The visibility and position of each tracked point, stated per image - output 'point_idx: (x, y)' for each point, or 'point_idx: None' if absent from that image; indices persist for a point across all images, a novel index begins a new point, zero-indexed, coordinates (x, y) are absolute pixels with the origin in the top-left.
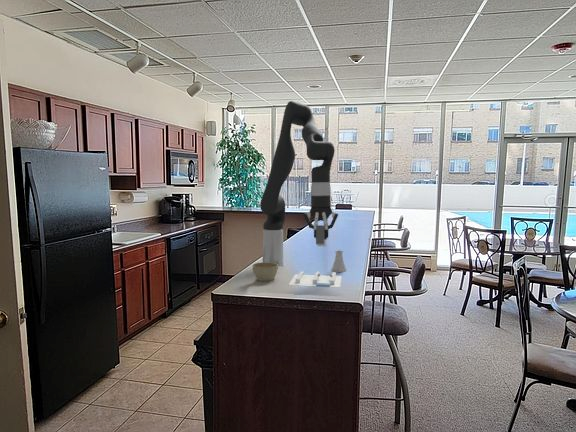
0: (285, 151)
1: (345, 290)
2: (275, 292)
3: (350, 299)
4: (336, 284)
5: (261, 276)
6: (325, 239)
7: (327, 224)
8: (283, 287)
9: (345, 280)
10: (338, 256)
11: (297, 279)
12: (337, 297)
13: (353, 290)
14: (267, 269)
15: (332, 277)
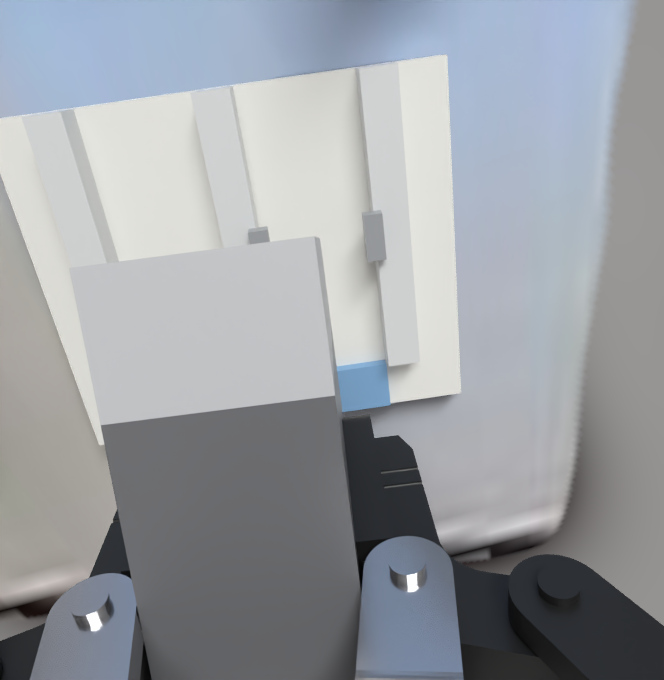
0: None
1: (488, 353)
2: (67, 513)
3: (522, 500)
4: (429, 342)
5: None
6: (334, 360)
7: (448, 670)
8: (57, 411)
9: (475, 67)
10: None
11: None
12: (448, 490)
13: (541, 338)
14: None
15: (392, 277)
